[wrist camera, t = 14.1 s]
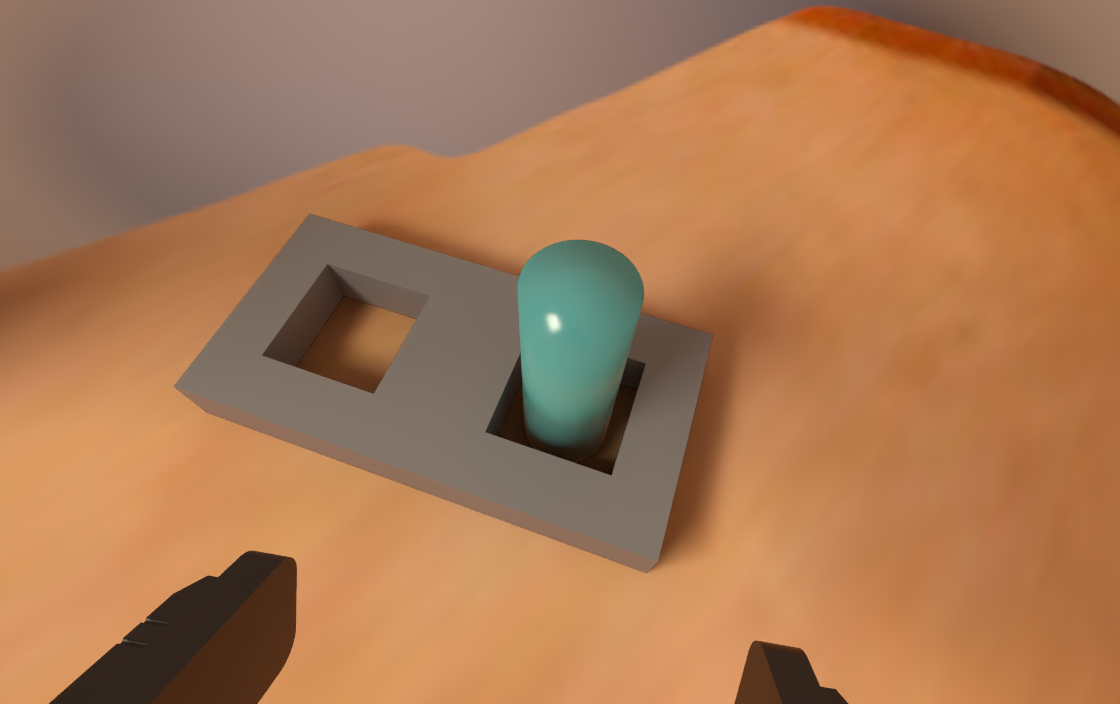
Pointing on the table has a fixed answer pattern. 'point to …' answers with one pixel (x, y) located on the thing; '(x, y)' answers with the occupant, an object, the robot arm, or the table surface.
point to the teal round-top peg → (574, 342)
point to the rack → (448, 390)
